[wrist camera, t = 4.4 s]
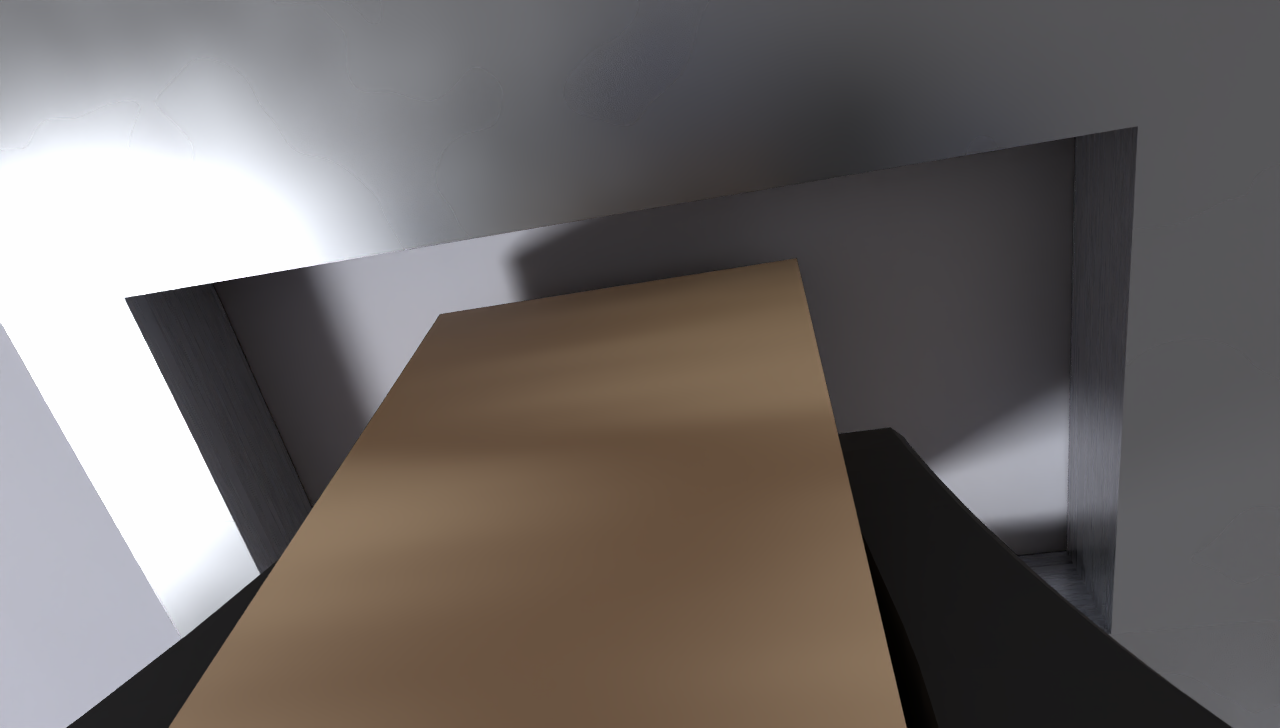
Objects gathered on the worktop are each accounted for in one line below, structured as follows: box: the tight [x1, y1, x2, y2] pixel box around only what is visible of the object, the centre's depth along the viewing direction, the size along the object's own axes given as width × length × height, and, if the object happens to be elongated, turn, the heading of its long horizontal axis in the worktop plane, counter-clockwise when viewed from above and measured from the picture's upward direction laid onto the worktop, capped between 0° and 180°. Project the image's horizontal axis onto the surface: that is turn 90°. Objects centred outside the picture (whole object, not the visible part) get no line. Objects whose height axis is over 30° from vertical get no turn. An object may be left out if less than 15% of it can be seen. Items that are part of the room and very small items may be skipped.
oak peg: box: [169, 258, 907, 728], centre depth 8 cm, size 4×4×7 cm
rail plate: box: [0, 0, 1280, 728], centre depth 9 cm, size 26×12×2 cm, turn 101°
